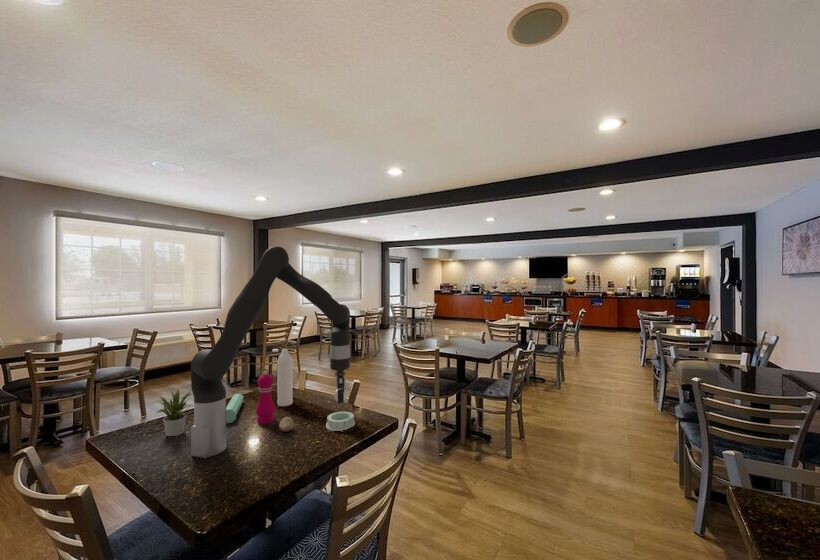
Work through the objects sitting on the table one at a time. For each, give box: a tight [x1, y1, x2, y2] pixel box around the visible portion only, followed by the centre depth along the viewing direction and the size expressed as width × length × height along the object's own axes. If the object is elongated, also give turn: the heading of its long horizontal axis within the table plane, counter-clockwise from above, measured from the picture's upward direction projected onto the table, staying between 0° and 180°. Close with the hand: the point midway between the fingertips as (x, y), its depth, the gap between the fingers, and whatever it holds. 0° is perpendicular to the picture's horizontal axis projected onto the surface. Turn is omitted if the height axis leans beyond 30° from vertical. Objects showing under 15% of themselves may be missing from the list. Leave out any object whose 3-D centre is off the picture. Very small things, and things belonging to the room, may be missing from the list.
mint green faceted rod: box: [226, 393, 244, 424], centre depth 151 cm, size 6×6×25 cm
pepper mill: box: [255, 370, 276, 425], centre depth 141 cm, size 7×7×20 cm
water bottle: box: [272, 348, 294, 407], centre depth 160 cm, size 9×6×25 cm
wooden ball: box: [278, 416, 294, 432], centre depth 131 cm, size 5×5×5 cm
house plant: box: [155, 388, 194, 437], centre depth 129 cm, size 14×14×16 cm
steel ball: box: [333, 388, 348, 402], centre depth 136 cm, size 5×5×5 cm
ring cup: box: [325, 411, 356, 432], centre depth 136 cm, size 11×11×4 cm
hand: (340, 399), depth 136 cm, fingers closed on steel ball, 5 cm apart
